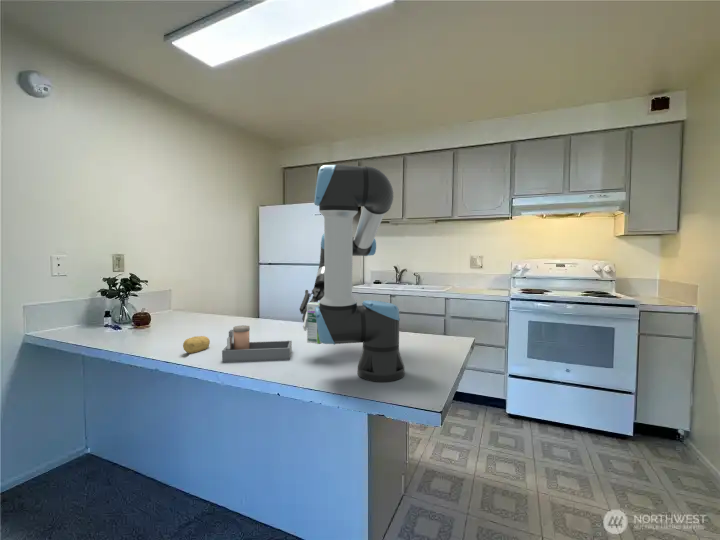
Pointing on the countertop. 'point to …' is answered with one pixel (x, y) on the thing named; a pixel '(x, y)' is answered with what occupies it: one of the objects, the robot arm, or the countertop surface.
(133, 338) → the countertop surface
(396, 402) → the countertop surface
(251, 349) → the gray tray
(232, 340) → the pusher
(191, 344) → the potato
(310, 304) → the syrup box
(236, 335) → the jar
